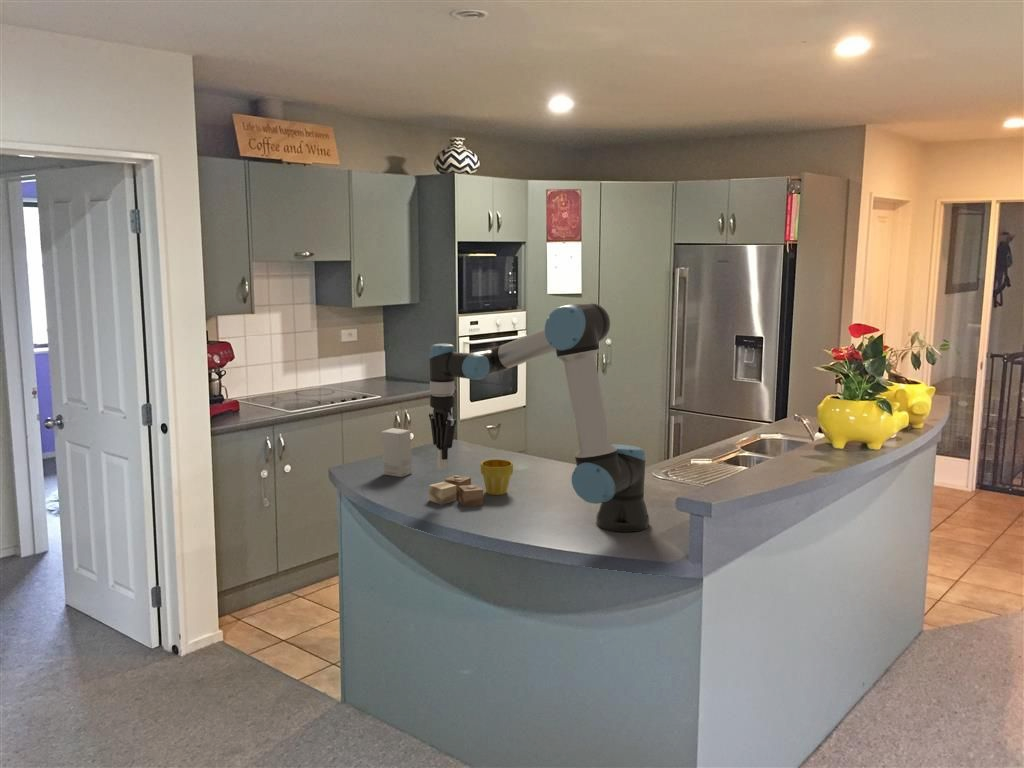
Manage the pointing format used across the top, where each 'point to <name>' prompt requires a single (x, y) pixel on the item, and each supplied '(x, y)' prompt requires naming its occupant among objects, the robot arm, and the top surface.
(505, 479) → the plant pot
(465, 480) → the marked block
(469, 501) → the marked block
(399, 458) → the skincare box
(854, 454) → the top surface
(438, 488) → the plain block
